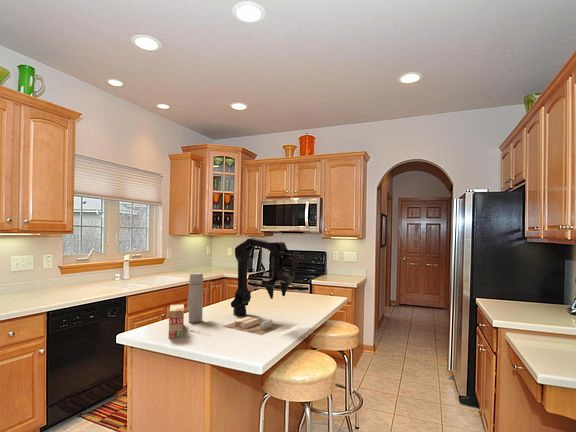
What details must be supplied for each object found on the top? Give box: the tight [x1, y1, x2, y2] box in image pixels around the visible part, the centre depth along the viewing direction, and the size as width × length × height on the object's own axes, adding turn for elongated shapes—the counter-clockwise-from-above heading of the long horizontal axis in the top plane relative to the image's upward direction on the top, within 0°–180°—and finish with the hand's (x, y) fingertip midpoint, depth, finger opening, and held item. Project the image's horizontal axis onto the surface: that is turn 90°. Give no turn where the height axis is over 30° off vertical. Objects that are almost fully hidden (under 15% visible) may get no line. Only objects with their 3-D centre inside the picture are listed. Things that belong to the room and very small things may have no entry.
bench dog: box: [261, 319, 273, 331], centre depth 161 cm, size 2×7×4 cm, turn 147°
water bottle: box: [186, 272, 204, 324], centre depth 180 cm, size 9×8×25 cm
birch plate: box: [234, 316, 260, 328], centre depth 168 cm, size 7×10×2 cm
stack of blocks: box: [168, 303, 185, 339], centre depth 162 cm, size 21×6×12 cm, turn 17°
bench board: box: [222, 320, 284, 336], centre depth 165 cm, size 24×18×2 cm
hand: (277, 297), depth 173 cm, fingers open, 9 cm apart
